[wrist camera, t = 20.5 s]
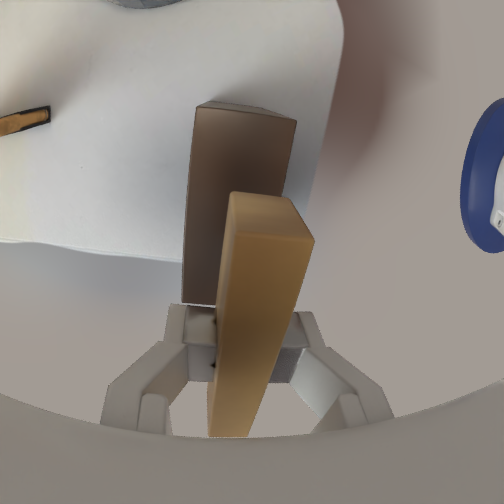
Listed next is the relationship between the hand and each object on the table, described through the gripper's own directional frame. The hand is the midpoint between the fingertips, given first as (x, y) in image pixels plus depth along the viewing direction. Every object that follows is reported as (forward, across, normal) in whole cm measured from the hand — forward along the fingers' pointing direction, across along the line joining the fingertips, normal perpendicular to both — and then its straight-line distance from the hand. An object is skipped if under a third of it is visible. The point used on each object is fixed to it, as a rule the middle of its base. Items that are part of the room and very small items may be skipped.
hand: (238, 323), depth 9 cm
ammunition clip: (+21, +24, -4) cm, 32 cm away
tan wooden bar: (0, 0, 0) cm, 0 cm away
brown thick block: (+21, 0, 0) cm, 21 cm away
